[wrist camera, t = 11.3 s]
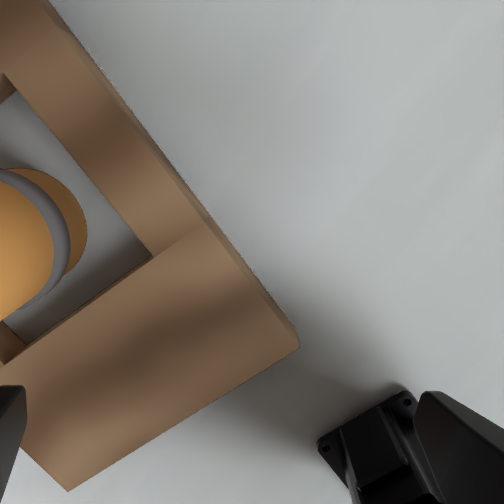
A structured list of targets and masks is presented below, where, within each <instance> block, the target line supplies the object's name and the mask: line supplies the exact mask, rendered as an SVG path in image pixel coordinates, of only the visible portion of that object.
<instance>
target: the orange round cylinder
mask: <svg viewBox="0 0 504 504" xmlns="http://www.w3.org/2000/svg"><path fill="white" fill-rule="evenodd" d="M86 241H87V226H86V220H85V217H84V214H83V211H82V209H81V207H80V205H79V203H78V201H77V200H76V198H75V197H74V196H73V194H72V193H71V192H70V191H69V190H68V189H67V188H66V187H65V186H64V185H63V184H61V183H60V182H59V181H57V180H56V179H54V178H53V177H51V176H49V175H47V174H45V173H42V172H39V171H36V170H32V169H25V168H13V169H5V170H4V169H0V321H2V320H3V319H4V318H6V317H7V316H9V315H10V314H11V313H13V312H14V311H17V310H20V309H23V308H25V307H27V306H29V305H31V304H32V303H34V302H35V301H37V300H38V299H39V298H41V297H42V296H43V295H45V294H46V293H47V292H49V291H50V290H51V289H52V288H53V287H55V286H56V284H57V283H58V282H59V281H60V280H61V278H62V276H63V275H65V274H66V273H68V272H69V271H70V270H71V269H72V268H73V267H74V266H75V265H76V264H77V263H78V262H79V260H80V258H81V257H82V255H83V252H84V250H85V246H86Z"/></svg>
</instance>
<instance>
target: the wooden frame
mask: <svg viewBox="0 0 504 504" xmlns="http://www.w3.org/2000/svg"><path fill="white" fill-rule="evenodd" d="M16 90H18V91H19V92H20V94H21V95H22V96H23V97H24V98H25V100H26V101H27V102H28V103H29V105H30V106H31V107H32V108H33V110H34V111H35V112H36V113H37V114H38V116H39V117H40V118H41V119H42V121H43V122H44V123H45V124H46V125H47V127H48V128H49V129H50V130H51V132H52V133H53V134H54V135H55V137H56V138H57V139H58V140H59V141H60V143H61V144H62V145H63V146H64V148H65V149H66V150H67V151H68V152H69V154H70V155H71V156H72V157H73V159H74V160H75V161H76V162H77V163H78V165H79V166H80V167H81V168H82V170H83V171H84V172H85V173H86V175H87V176H88V177H89V178H90V179H91V181H92V182H93V183H94V184H95V186H96V187H97V188H98V189H99V190H100V192H101V193H102V194H103V195H104V197H105V198H106V199H107V200H108V202H109V203H110V204H111V205H112V206H113V208H114V209H115V210H116V211H117V213H118V214H119V215H120V216H121V217H122V219H123V220H124V221H125V222H126V224H127V225H128V226H129V227H130V229H131V230H132V231H133V232H134V233H135V235H136V236H137V237H138V238H139V240H140V241H141V242H142V243H143V244H144V246H145V247H146V248H147V249H148V251H149V252H150V253H151V254H152V255H151V256H150V257H149V258H147V259H146V260H145V261H143V262H142V263H140V264H139V265H138V266H136V267H135V268H133V269H132V270H131V271H129V272H128V273H126V274H125V275H124V276H122V277H121V278H120V279H118V280H117V281H115V282H114V283H113V284H111V285H110V286H108V287H107V288H106V289H104V290H103V291H101V292H100V293H99V294H97V295H96V296H95V297H93V298H92V299H90V300H89V301H88V302H86V303H85V304H83V305H82V306H81V307H79V308H78V309H76V310H75V311H74V312H72V313H71V314H70V315H68V316H67V317H65V318H64V319H63V320H61V321H60V322H58V323H57V324H56V325H54V326H53V327H52V328H50V329H49V330H47V331H46V332H45V333H43V334H42V335H40V336H39V337H38V338H36V339H35V340H33V341H32V342H31V343H29V344H28V345H27V346H26V345H25V344H24V343H23V342H22V341H21V340H20V339H19V338H18V337H17V336H16V335H15V334H14V333H13V332H12V331H11V330H10V329H9V328H8V327H7V326H6V325H5V324H4V323H3V321H0V386H1V385H22V386H24V387H25V390H26V401H27V415H28V418H27V425H26V429H25V432H24V435H23V438H22V441H21V444H20V447H21V448H22V449H23V450H24V451H25V452H26V453H27V454H28V455H29V456H30V457H31V458H32V459H33V460H34V461H35V462H36V463H37V464H38V465H40V466H41V467H42V468H43V469H44V470H45V471H46V472H47V473H48V474H49V475H50V476H51V477H52V478H53V479H54V480H55V481H56V482H57V483H59V484H60V485H61V486H62V487H63V488H64V489H65V490H66V491H67V492H69V491H70V490H72V489H74V488H75V487H77V486H78V485H80V484H82V483H83V482H85V481H86V480H88V479H90V478H91V477H93V476H95V475H96V474H98V473H99V472H101V471H103V470H104V469H106V468H107V467H109V466H111V465H112V464H114V463H115V462H117V461H119V460H120V459H122V458H123V457H125V456H127V455H128V454H130V453H131V452H133V451H135V450H136V449H138V448H139V447H141V446H143V445H144V444H146V443H147V442H149V441H151V440H152V439H154V438H156V437H157V436H159V435H160V434H162V433H164V432H165V431H167V430H168V429H170V428H172V427H173V426H175V425H176V424H178V423H180V422H181V421H183V420H184V419H186V418H188V417H189V416H191V415H192V414H194V413H196V412H197V411H199V410H200V409H202V408H204V407H205V406H207V405H208V404H210V403H212V402H213V401H215V400H217V399H218V398H220V397H221V396H223V395H225V394H226V393H228V392H229V391H231V390H233V389H234V388H236V387H237V386H239V385H241V384H242V383H244V382H245V381H247V380H249V379H250V378H252V377H253V376H255V375H257V374H258V373H260V372H261V371H263V370H265V369H266V368H268V367H269V366H271V365H273V364H274V363H276V362H278V361H279V360H281V359H282V358H284V357H286V356H287V355H289V354H290V353H292V352H294V351H295V350H297V349H298V348H300V346H299V342H298V337H297V333H296V329H295V328H294V326H293V325H292V324H291V322H290V321H289V320H288V318H287V317H286V316H285V314H284V313H283V312H282V310H281V309H280V308H279V306H278V305H277V304H276V302H275V301H274V300H273V298H272V297H271V296H270V295H269V293H268V292H267V291H266V289H265V288H264V287H263V285H262V284H261V283H260V281H259V280H258V279H257V277H256V276H255V275H254V273H253V272H252V271H251V269H250V268H249V267H248V265H247V264H246V263H245V261H244V260H243V259H242V257H241V256H240V255H239V253H238V252H237V251H236V249H235V248H234V247H233V245H232V244H231V243H230V241H229V240H228V239H227V237H226V236H225V235H224V233H223V232H222V231H221V229H220V228H219V227H218V225H217V224H216V223H215V221H214V220H213V219H212V217H211V216H210V215H209V213H208V212H207V211H206V209H205V208H204V207H203V205H202V204H201V203H200V201H199V200H198V199H197V197H196V196H195V195H194V193H193V192H192V191H191V189H190V188H189V187H188V185H187V184H186V183H185V181H184V180H183V179H182V178H181V176H180V175H179V174H178V172H177V171H176V170H175V168H174V167H173V166H172V164H171V163H170V162H169V160H168V159H167V158H166V156H165V155H164V154H163V152H162V151H161V150H160V148H159V147H158V146H157V144H156V143H155V142H154V140H153V139H152V138H151V136H150V135H149V134H148V132H147V131H146V130H145V128H144V127H143V126H142V124H141V123H140V122H139V120H138V119H137V118H136V116H135V115H134V114H133V112H132V111H131V110H130V108H129V107H128V106H127V104H126V103H125V102H124V100H123V99H122V98H121V96H120V95H119V94H118V92H117V91H116V90H115V88H114V87H113V86H112V84H111V83H110V82H109V80H108V79H107V78H106V76H105V75H104V74H103V72H102V71H101V70H100V68H99V67H98V66H97V64H96V63H95V62H94V60H93V59H92V58H91V57H90V55H89V54H88V53H87V51H86V50H85V49H84V47H83V46H82V45H81V43H80V42H79V41H78V39H77V38H76V37H75V35H74V34H73V33H72V31H71V30H70V29H69V27H68V26H67V25H66V23H65V22H64V21H63V19H62V18H61V17H60V15H59V14H58V13H57V11H56V10H55V9H54V7H53V6H52V5H51V3H50V2H49V1H48V0H0V104H1V103H2V102H3V101H5V100H6V99H7V98H8V97H9V96H10V95H12V94H13V93H14V92H15V91H16Z"/></svg>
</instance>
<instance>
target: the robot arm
mask: <svg viewBox="0 0 504 504" xmlns="http://www.w3.org/2000/svg"><path fill="white" fill-rule="evenodd" d="M405 399H409V400H408V401H406V402H403V401H404V400H405ZM27 418H28V415H27V401H26V390H25V387H24V386H22V385H1V386H0V502H1V500H2V497H3V494H4V491H5V488H6V485H7V482H8V479H9V476H10V474H11V471H12V468H13V465H14V462H15V459H16V456H17V453H18V450H19V447H20V444H21V441H22V438H23V435H24V432H25V429H26V425H27ZM324 445H328V446H327V447H323V446H324ZM317 448H318V451H319V453H320V454H321V456H322V457H323V458H324V459H325V460H326V462H327V463H328V464H329V465H330V467H331V468H332V469H333V470H334V472H335V473H336V474H337V475H338V476H339V478H340V479H341V480H342V481H343V483H344V484H345V485H346V486H347V488H348V489H349V491H350V495H351V499H352V502H353V504H504V429H503V428H501V427H500V426H498V425H496V424H495V423H493V422H491V421H490V420H488V419H486V418H485V417H483V416H481V415H480V414H478V413H476V412H474V411H473V410H471V409H469V408H468V407H466V406H464V405H463V404H461V403H459V402H458V401H456V400H454V399H453V398H451V397H449V396H448V395H446V394H444V393H443V392H440V391H425V392H424V393H423V394H422V395H421V397H420V400H419V403H418V402H417V400H416V399H415V397H414V396H413V394H412V393H411V392H409V391H402V392H400V393H398V394H396V395H395V396H393V397H391V398H389V399H388V400H386V401H384V402H382V403H381V404H379V405H377V406H375V407H374V408H372V409H370V410H368V411H367V412H365V413H363V414H361V415H360V416H358V417H356V418H354V419H353V420H351V421H349V422H347V423H346V424H344V425H342V426H340V427H339V428H337V429H335V430H333V431H332V432H330V433H328V434H326V435H325V436H323V437H321V438H320V439H319V440H318V441H317Z"/></svg>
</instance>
